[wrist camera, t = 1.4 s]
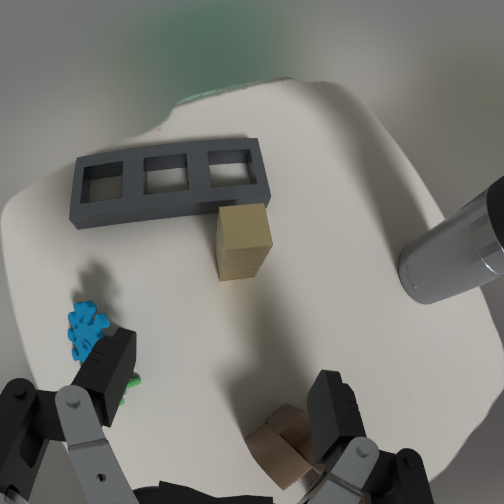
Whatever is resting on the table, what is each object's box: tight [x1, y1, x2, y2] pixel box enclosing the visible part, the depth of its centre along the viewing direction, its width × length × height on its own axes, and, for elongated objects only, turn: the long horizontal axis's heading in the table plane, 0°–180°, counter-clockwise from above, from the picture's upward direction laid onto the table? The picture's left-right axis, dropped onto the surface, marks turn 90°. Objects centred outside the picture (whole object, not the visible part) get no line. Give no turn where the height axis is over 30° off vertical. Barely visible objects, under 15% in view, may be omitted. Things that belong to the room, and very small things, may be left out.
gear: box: [68, 301, 141, 405], centre depth 28 cm, size 11×6×10 cm
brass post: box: [215, 203, 273, 281], centre depth 31 cm, size 4×4×10 cm
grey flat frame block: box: [69, 138, 271, 229], centre depth 36 cm, size 24×9×3 cm, turn 100°
